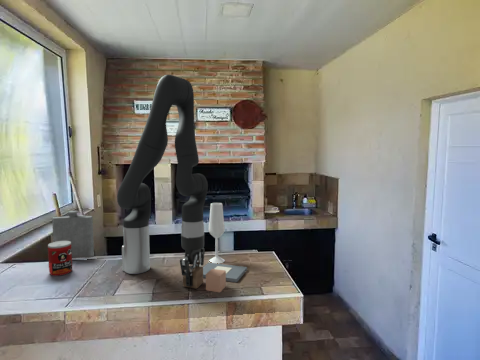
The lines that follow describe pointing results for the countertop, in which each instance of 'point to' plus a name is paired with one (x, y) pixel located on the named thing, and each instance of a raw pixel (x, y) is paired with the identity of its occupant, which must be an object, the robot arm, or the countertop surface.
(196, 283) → the walnut block
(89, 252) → the hip flask
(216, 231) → the champagne flute
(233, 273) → the slate board
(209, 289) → the terracotta block
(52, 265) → the canned food
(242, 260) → the countertop surface
